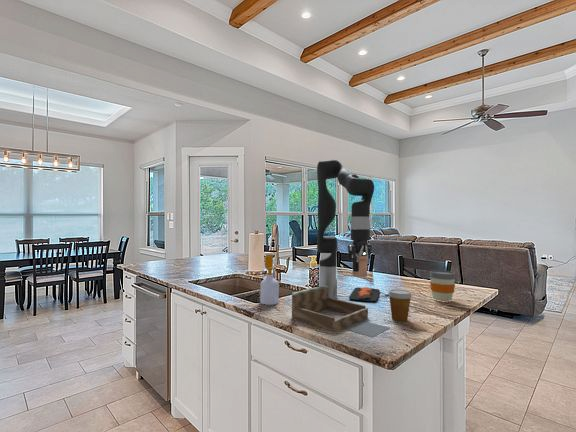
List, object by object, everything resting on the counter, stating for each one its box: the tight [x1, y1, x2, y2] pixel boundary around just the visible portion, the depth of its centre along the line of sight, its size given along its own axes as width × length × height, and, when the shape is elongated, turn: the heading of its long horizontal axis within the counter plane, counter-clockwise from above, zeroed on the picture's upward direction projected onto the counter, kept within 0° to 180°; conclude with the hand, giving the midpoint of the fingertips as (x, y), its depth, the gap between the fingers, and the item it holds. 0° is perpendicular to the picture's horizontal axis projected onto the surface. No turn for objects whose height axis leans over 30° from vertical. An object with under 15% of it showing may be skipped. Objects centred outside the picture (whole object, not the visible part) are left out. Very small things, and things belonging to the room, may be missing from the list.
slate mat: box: [344, 320, 391, 338], centre depth 125 cm, size 14×12×1 cm
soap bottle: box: [259, 253, 280, 306], centre depth 160 cm, size 9×9×25 cm
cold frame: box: [291, 285, 369, 333], centre depth 137 cm, size 24×23×11 cm
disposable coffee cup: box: [387, 288, 412, 323], centre depth 137 cm, size 10×10×12 cm
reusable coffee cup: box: [429, 269, 456, 301], centre depth 170 cm, size 12×13×15 cm
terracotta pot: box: [352, 251, 369, 278], centre depth 126 cm, size 6×6×11 cm
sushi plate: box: [349, 286, 389, 302], centre depth 175 cm, size 29×30×4 cm
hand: (360, 270), depth 126 cm, fingers closed on terracotta pot, 5 cm apart
